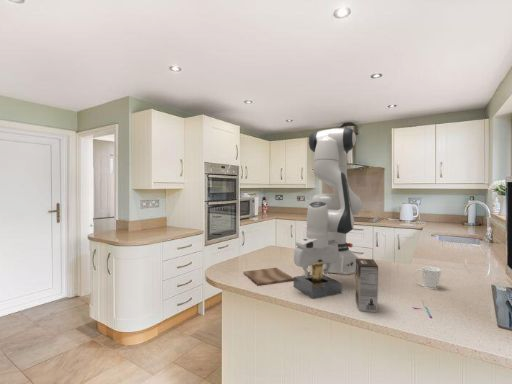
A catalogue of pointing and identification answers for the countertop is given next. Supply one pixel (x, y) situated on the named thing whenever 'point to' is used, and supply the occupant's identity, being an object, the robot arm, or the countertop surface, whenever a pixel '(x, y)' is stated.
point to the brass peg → (317, 272)
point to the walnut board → (268, 276)
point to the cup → (430, 276)
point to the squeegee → (427, 311)
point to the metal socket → (317, 286)
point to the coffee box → (366, 285)
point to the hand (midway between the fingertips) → (316, 274)
